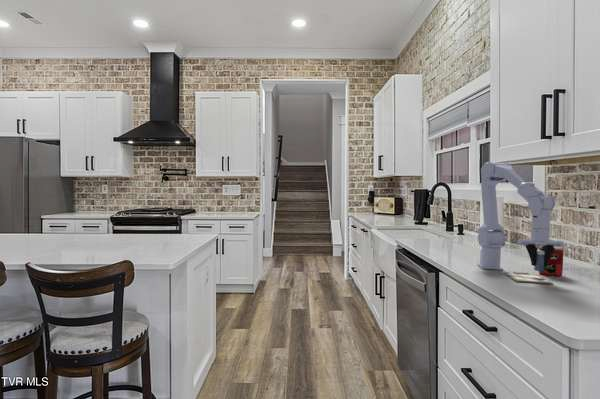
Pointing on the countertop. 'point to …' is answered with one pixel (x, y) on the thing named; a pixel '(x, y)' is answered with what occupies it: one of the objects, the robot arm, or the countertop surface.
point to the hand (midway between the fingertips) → (538, 265)
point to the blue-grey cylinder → (539, 261)
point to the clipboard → (527, 278)
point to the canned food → (554, 263)
